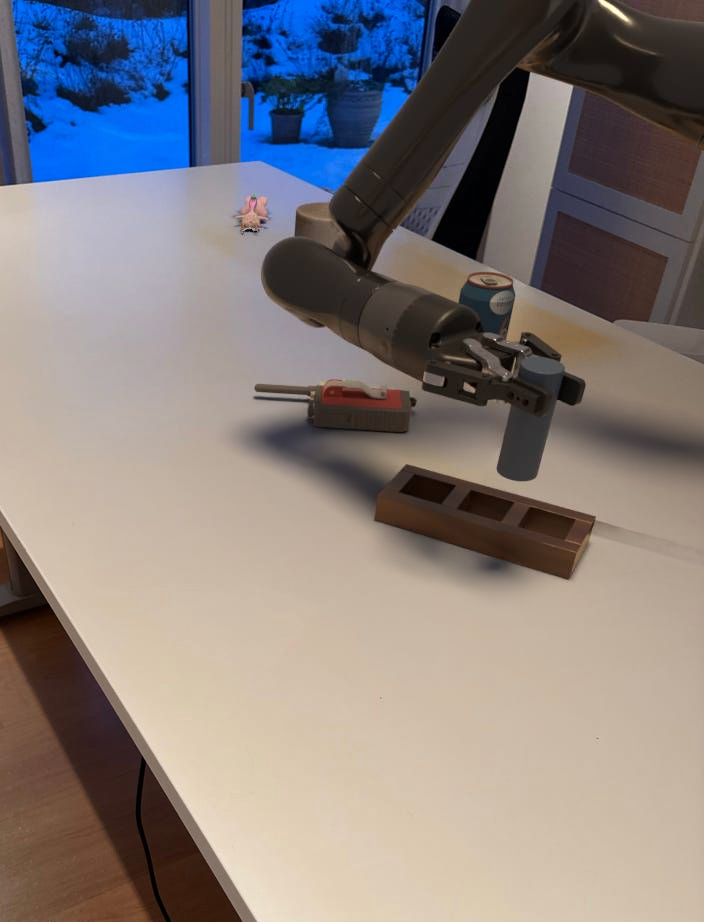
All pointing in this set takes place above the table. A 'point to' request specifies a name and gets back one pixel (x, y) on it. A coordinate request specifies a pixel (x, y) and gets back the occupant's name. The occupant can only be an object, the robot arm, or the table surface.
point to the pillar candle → (315, 223)
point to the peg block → (486, 520)
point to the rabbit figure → (253, 212)
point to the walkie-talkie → (352, 405)
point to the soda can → (490, 300)
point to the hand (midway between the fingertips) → (563, 399)
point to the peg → (529, 423)
